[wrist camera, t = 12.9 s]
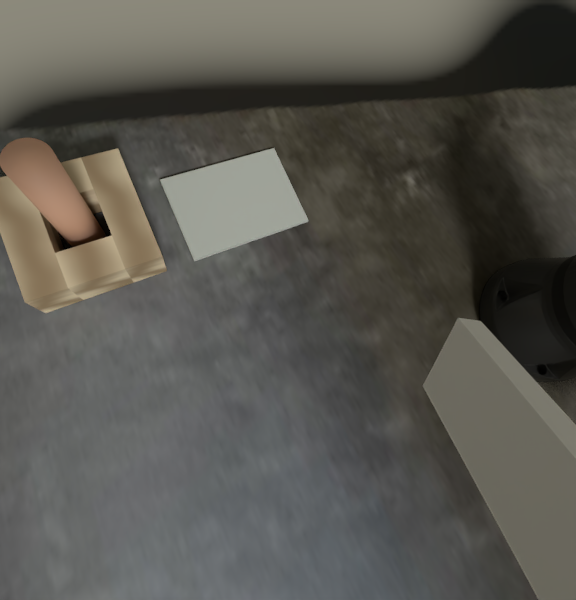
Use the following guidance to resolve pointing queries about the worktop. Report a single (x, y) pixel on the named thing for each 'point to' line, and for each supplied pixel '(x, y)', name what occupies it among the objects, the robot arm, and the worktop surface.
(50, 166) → the peg
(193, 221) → the mat
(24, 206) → the hole block
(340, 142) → the worktop surface
